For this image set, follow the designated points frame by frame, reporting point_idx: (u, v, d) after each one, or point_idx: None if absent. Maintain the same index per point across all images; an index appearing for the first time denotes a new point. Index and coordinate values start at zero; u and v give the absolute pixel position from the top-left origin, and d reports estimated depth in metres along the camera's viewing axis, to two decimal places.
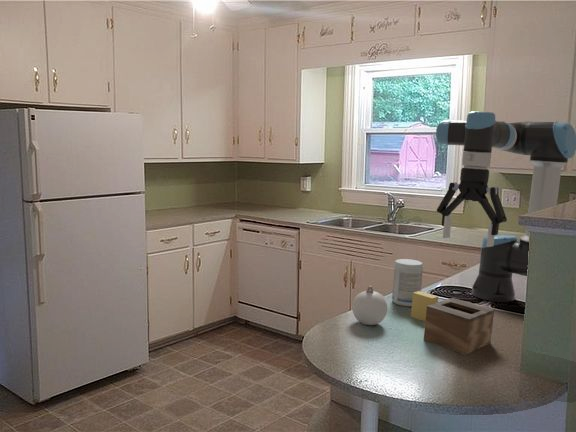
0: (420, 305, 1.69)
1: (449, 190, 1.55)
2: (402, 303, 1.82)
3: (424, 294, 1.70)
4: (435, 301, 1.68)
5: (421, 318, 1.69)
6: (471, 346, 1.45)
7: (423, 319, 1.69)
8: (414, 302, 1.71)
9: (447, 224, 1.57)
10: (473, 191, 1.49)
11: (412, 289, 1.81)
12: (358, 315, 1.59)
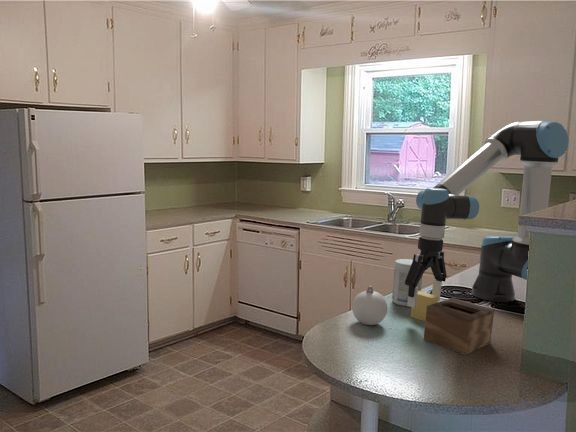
0: (420, 305, 1.69)
1: None
2: (402, 303, 1.82)
3: (424, 294, 1.70)
4: (435, 301, 1.68)
5: (421, 318, 1.69)
6: (471, 346, 1.45)
7: (423, 319, 1.69)
8: None
9: (434, 287, 1.74)
10: None
11: None
12: (358, 315, 1.59)
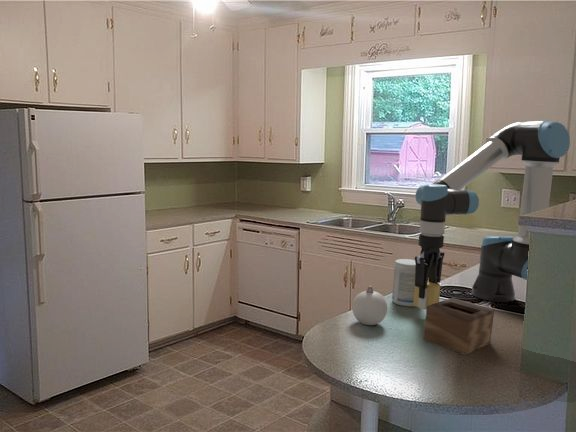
0: None
1: None
2: (402, 303, 1.82)
3: None
4: (437, 290, 1.67)
5: None
6: (471, 346, 1.45)
7: None
8: (416, 290, 1.71)
9: None
10: None
11: (412, 289, 1.81)
12: (358, 315, 1.59)
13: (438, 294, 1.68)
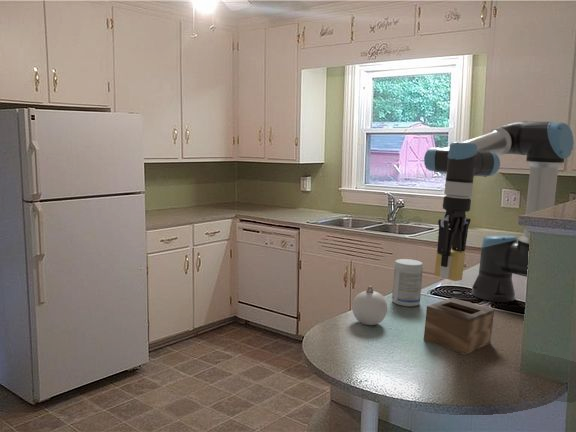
0: None
1: None
2: (402, 303, 1.82)
3: None
4: (462, 257, 1.53)
5: None
6: (471, 346, 1.45)
7: None
8: (438, 259, 1.57)
9: None
10: None
11: (412, 289, 1.81)
12: (358, 315, 1.59)
13: (462, 263, 1.54)
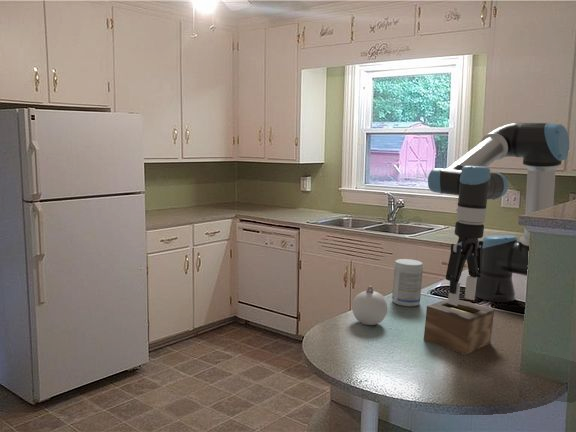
0: None
1: None
2: (402, 303, 1.82)
3: None
4: None
5: None
6: (471, 346, 1.45)
7: None
8: None
9: (468, 284, 1.54)
10: None
11: (412, 289, 1.81)
12: (358, 315, 1.59)
13: None
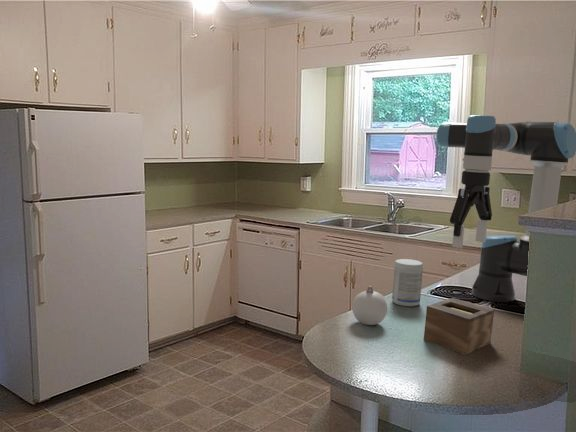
0: None
1: None
2: (402, 303, 1.82)
3: None
4: None
5: None
6: (471, 346, 1.45)
7: None
8: None
9: (478, 227, 1.59)
10: None
11: (412, 289, 1.81)
12: (358, 315, 1.59)
13: None
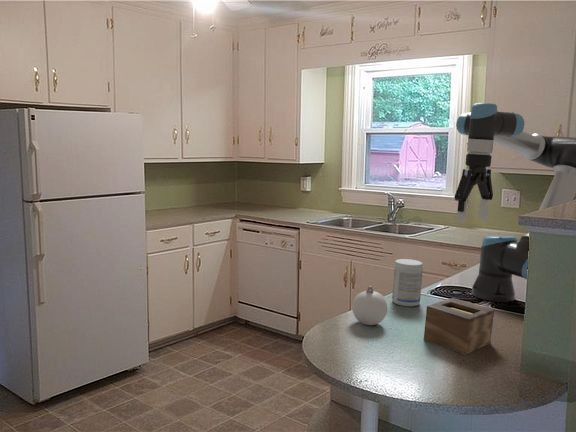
0: None
1: None
2: (402, 303, 1.82)
3: None
4: None
5: None
6: (471, 346, 1.45)
7: None
8: None
9: (480, 206, 1.75)
10: None
11: (412, 289, 1.81)
12: (358, 315, 1.59)
13: None
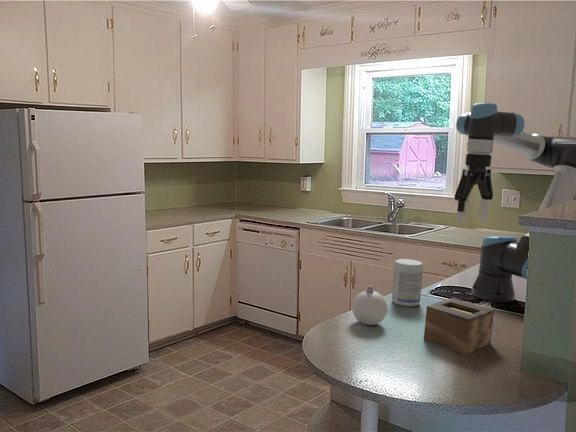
0: None
1: None
2: (402, 303, 1.82)
3: None
4: None
5: None
6: (471, 346, 1.45)
7: None
8: None
9: (480, 206, 1.75)
10: None
11: (412, 289, 1.81)
12: (358, 315, 1.59)
13: None
